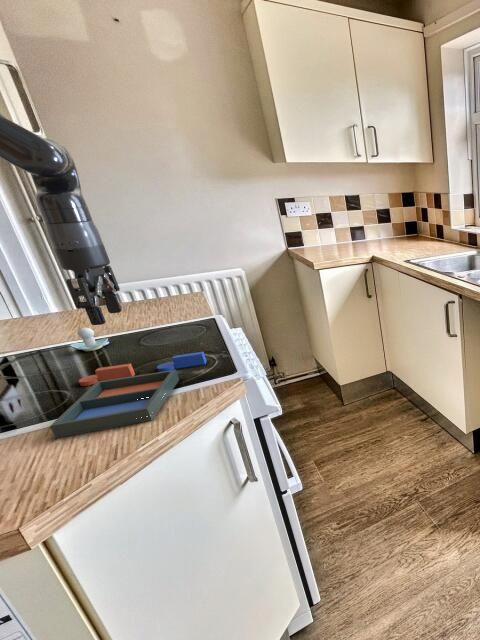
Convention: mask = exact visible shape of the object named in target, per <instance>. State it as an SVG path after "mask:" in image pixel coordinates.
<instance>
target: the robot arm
mask: <svg viewBox="0 0 480 640" xmlns="http://www.w3.org/2000/svg"><path fill="white" fill-rule="evenodd" d="M0 159H2V160H4V161H5V162H7V163H9V164H11V165H12V166H14V167H15V168H18V169H19V170H22V171H24V172H26V173H28V174H30V176H31V179H32V181H33V184H34V187H35V190H36V193H35V196H34V199H35V204H36V206H37V209H38V212H39V213H40V217H41V219H42V221H43V223H44V227H45V230H46V233H47V237H48V239H49V242H50V245H51V247H52V249H53V251H54V253H55V256H56V259H57V260H58V263H59V265H60V267H61V269H63V270H65V271H71V272H73V276H74V277H73V278H66V280H65V282H66V285H67V288H68V291H69V293H70V295H71V299H72V300H73V303H74V305H75V308H76V309H83V310H85V312H86V315H87V317H88V320H89V322H90V324H91V326H101V325H104V324H106V323H107V321H106V319H105V315H104V313H103V311H102V308H101V306H100V298H103V302H104V304H105V307H106V310H107V312H108V313H109V314H119V313H121V312H122V311H123V310H122V306H121V304H120V301H119V299H118V294H119V293H118V292H119V291H121V288H120V285H119V284H118V283H119V282H118V281H117V278H116V276H115V273H114V272H113V269H112V266H111V265H110V264H111V260H110V257H109V255H108V252H107V249H106V247H105V245H104V242H103V239H102V237H101V234H100V232H99V230H98V227H97V226H96V224H95V222H94V220H93V217H92V215H91V212H90V210H89V207H88V204H87V202H86V200H85V198H84V195H83V191H82V186H81V182H80V178H79V173H78V170H77V166H76V163H75V161H74V159H73V157H72V155H71V153H70V152H69V151H68V149H67V148H66V147H65V146H63V145H62V144H60V143H59V142H57V141H55V140H53V139H50V138H45V137H43V136H40V135H38V134H36V133H34V132H32V131H30V130H28V129H27V128H25V127H23V126H22V125H19V124H18V123H16V122H15V121H12V120H10V119H8V118H6V116H5V115H4V114H3V113H2V112H0Z"/></svg>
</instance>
